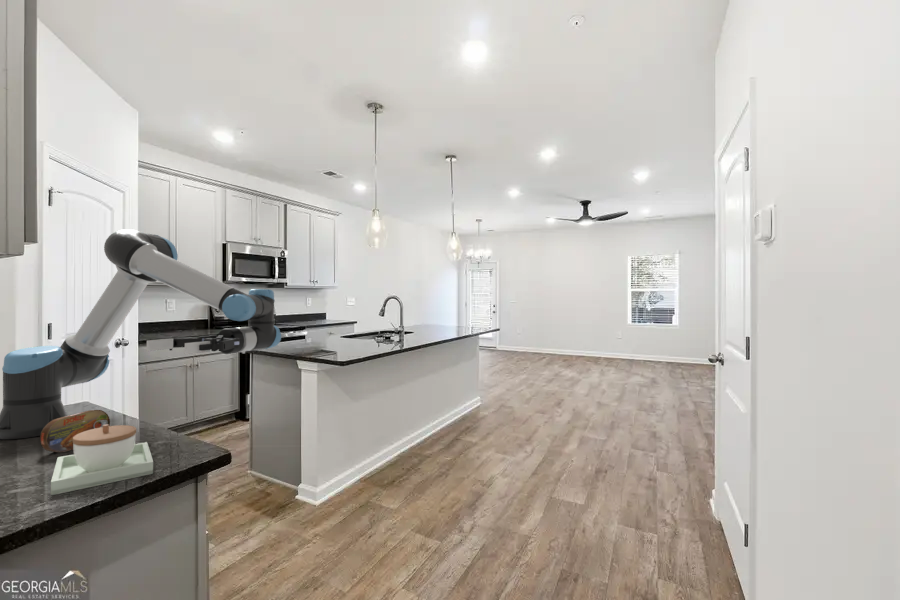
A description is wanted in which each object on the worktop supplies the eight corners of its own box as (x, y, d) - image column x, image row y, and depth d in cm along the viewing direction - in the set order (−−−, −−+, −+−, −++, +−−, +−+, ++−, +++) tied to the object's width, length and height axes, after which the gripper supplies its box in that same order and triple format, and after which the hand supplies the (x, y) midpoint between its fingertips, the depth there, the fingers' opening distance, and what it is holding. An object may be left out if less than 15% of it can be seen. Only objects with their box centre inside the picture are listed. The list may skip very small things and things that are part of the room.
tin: (47, 457, 98) (47, 422, 98) (36, 456, 99) (37, 421, 99) (110, 437, 113) (111, 406, 113) (101, 436, 113) (102, 405, 113)
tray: (57, 468, 91) (57, 457, 91) (146, 452, 102) (147, 441, 102) (50, 495, 79) (50, 481, 79) (153, 473, 90) (153, 461, 90)
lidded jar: (134, 470, 89) (134, 427, 89) (67, 482, 83) (67, 435, 83) (137, 455, 98) (138, 415, 98) (77, 464, 92) (77, 422, 92)
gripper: (268, 355, 120) (202, 365, 100) (205, 350, 128) (132, 358, 108) (269, 329, 120) (202, 334, 100) (205, 326, 128) (132, 330, 108)
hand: (166, 347), depth 104 cm, fingers open, 13 cm apart
